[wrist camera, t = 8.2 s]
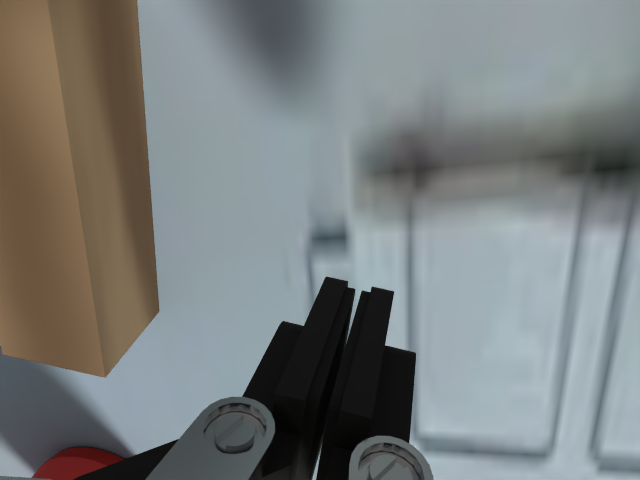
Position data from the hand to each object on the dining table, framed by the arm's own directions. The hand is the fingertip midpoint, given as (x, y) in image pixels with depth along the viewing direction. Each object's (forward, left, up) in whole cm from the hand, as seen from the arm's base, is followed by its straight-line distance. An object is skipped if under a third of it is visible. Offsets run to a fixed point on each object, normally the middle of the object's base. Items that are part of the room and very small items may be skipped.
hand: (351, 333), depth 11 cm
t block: (+14, 0, -6) cm, 15 cm away
